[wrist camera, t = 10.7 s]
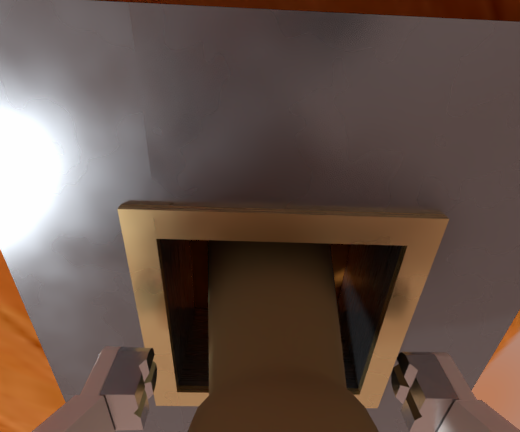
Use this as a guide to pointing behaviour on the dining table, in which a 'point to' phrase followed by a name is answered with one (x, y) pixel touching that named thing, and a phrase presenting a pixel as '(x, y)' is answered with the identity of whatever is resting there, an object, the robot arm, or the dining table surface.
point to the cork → (275, 342)
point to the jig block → (258, 179)
